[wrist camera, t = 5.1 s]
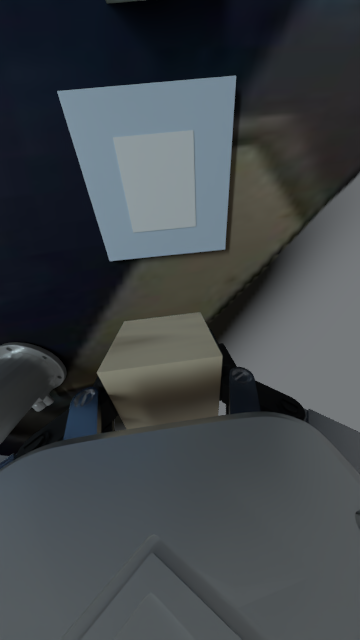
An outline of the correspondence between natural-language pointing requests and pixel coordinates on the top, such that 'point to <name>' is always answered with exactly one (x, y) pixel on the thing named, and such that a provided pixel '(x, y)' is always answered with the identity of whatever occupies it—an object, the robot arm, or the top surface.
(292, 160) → the top surface
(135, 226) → the board
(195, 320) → the birch block
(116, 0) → the sage block
